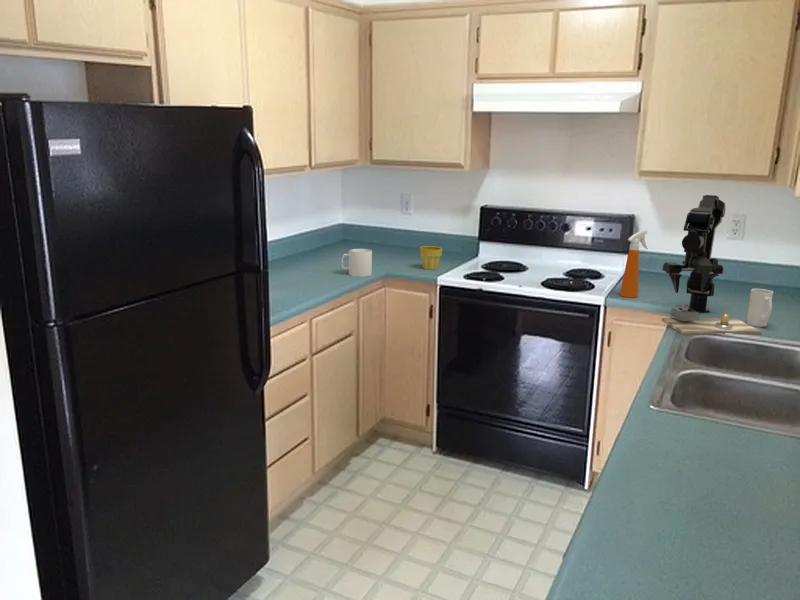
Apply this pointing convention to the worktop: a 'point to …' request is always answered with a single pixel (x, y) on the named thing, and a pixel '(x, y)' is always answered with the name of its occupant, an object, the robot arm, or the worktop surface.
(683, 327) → the board
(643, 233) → the spray bottle
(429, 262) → the plant pot
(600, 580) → the worktop surface
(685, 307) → the stand
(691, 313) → the grey square frame
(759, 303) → the mug
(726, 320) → the hub
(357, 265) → the mug
